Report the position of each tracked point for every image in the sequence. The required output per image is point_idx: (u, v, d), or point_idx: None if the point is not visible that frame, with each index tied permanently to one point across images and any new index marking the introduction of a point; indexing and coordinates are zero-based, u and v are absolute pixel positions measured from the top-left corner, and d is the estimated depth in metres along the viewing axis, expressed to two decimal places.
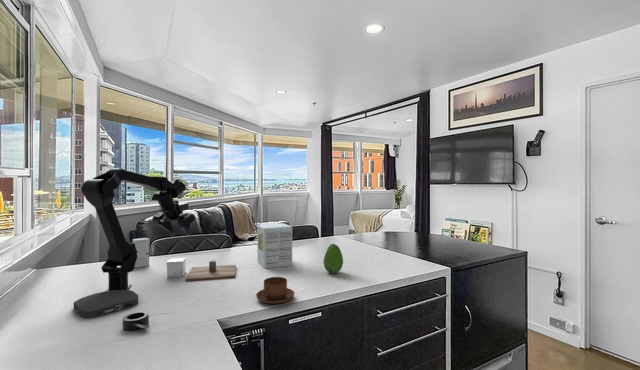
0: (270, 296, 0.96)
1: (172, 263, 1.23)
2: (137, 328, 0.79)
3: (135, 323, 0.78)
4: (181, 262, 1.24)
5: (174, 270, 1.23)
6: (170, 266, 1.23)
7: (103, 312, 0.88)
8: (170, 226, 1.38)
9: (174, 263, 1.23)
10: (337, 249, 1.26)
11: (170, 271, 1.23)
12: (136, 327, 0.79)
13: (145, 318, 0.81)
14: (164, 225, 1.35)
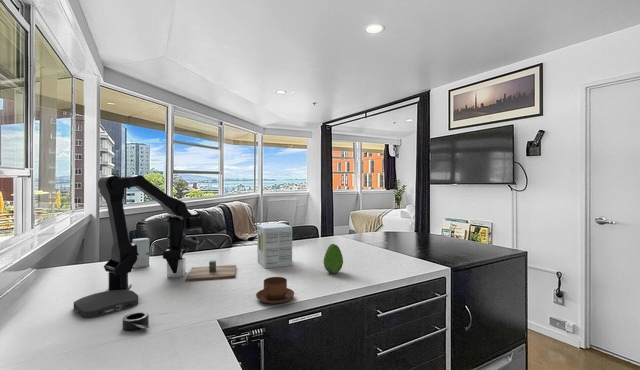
0: (270, 296, 0.97)
1: None
2: (136, 329, 0.79)
3: (135, 323, 0.78)
4: (181, 262, 1.24)
5: None
6: None
7: (102, 312, 0.88)
8: None
9: None
10: (337, 249, 1.26)
11: (170, 271, 1.23)
12: (135, 327, 0.79)
13: (145, 318, 0.81)
14: None
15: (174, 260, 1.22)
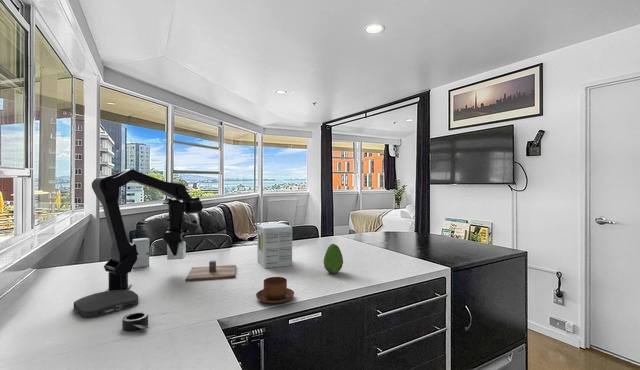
0: (270, 296, 0.97)
1: None
2: (136, 329, 0.79)
3: (134, 323, 0.78)
4: (181, 245, 1.24)
5: None
6: None
7: (102, 312, 0.88)
8: None
9: None
10: (337, 249, 1.26)
11: (170, 253, 1.23)
12: (135, 328, 0.79)
13: (144, 319, 0.80)
14: None
15: (174, 242, 1.22)
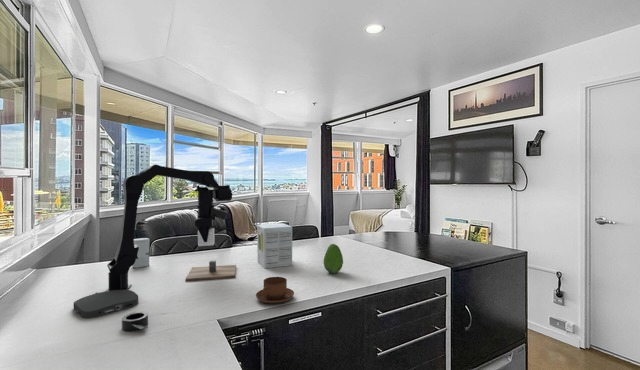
0: (270, 296, 0.97)
1: None
2: (135, 329, 0.79)
3: (133, 324, 0.78)
4: (211, 231, 1.25)
5: None
6: None
7: (102, 312, 0.88)
8: None
9: None
10: (337, 249, 1.26)
11: (201, 240, 1.24)
12: (134, 328, 0.79)
13: (144, 319, 0.80)
14: None
15: (205, 229, 1.23)
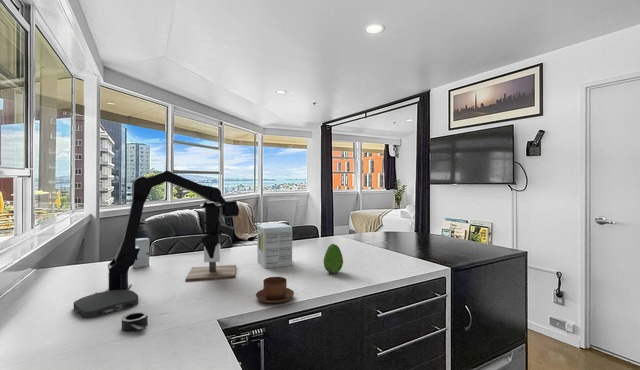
0: (270, 296, 0.97)
1: None
2: (134, 329, 0.79)
3: (132, 324, 0.78)
4: (218, 247, 1.25)
5: None
6: None
7: (102, 312, 0.88)
8: None
9: None
10: (337, 249, 1.26)
11: (207, 256, 1.24)
12: (133, 328, 0.78)
13: (143, 319, 0.80)
14: None
15: (211, 245, 1.23)
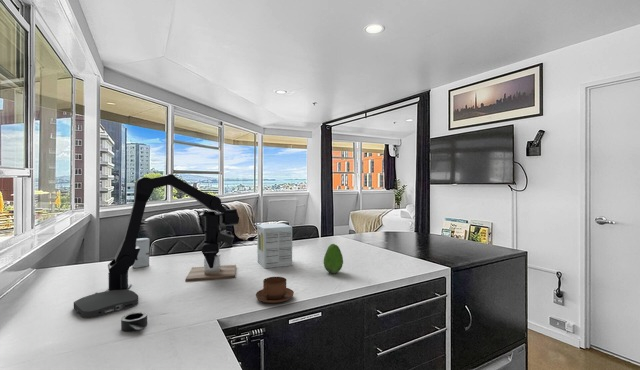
0: (269, 296, 0.97)
1: None
2: (133, 329, 0.78)
3: (131, 324, 0.78)
4: (218, 259, 1.25)
5: None
6: None
7: (102, 312, 0.88)
8: None
9: None
10: (337, 249, 1.26)
11: (207, 267, 1.24)
12: (131, 328, 0.78)
13: (142, 319, 0.80)
14: None
15: (211, 255, 1.22)
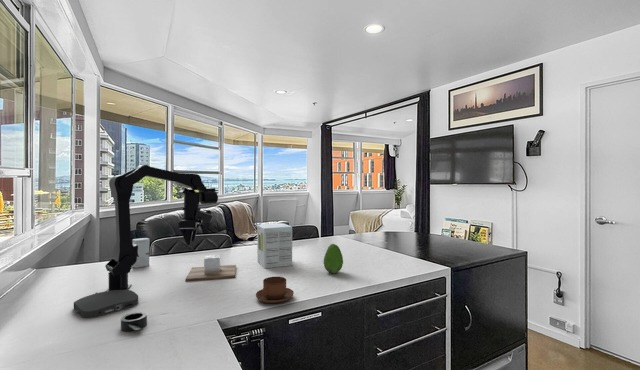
0: (269, 296, 0.97)
1: (209, 260, 1.24)
2: (132, 330, 0.78)
3: (130, 324, 0.78)
4: (218, 259, 1.25)
5: (211, 266, 1.25)
6: (207, 262, 1.24)
7: (102, 312, 0.88)
8: (194, 233, 1.32)
9: (211, 260, 1.25)
10: (337, 249, 1.26)
11: (207, 267, 1.24)
12: (130, 328, 0.78)
13: (141, 320, 0.80)
14: None
15: (188, 232, 1.22)
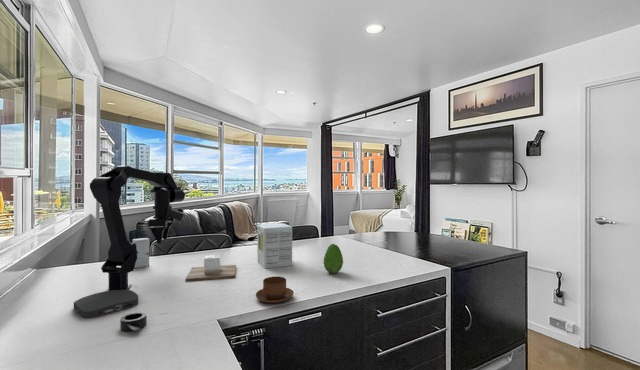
0: (269, 296, 0.97)
1: (209, 260, 1.24)
2: (131, 330, 0.78)
3: (129, 324, 0.78)
4: (218, 259, 1.25)
5: (211, 266, 1.25)
6: (207, 262, 1.24)
7: (102, 312, 0.88)
8: (166, 231, 1.33)
9: (211, 260, 1.25)
10: (337, 249, 1.26)
11: (207, 267, 1.24)
12: (129, 328, 0.78)
13: (140, 320, 0.80)
14: None
15: (159, 230, 1.23)
